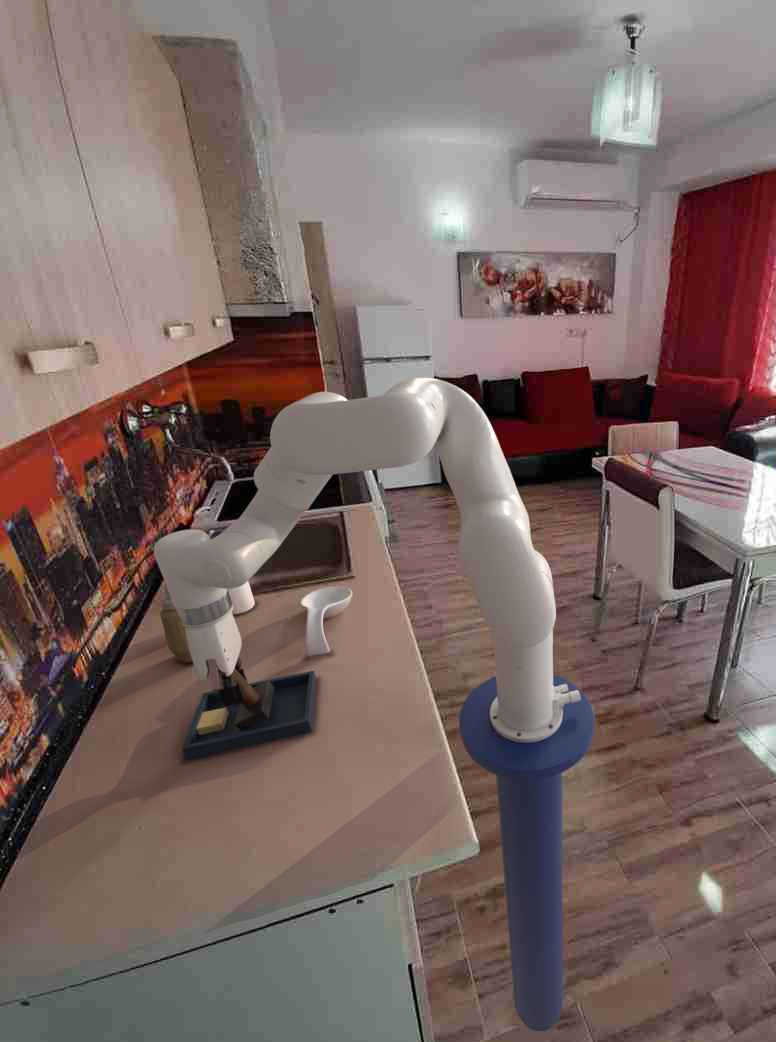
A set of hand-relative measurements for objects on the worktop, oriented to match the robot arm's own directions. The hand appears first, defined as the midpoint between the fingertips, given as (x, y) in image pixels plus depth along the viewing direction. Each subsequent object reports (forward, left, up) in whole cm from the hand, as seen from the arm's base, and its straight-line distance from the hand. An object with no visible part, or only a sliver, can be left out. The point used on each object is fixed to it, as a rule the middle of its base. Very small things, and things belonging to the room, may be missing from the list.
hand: (236, 695), depth 88 cm
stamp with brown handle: (-3, 0, -4) cm, 5 cm away
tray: (-2, 0, -6) cm, 6 cm away
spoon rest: (-13, -26, -6) cm, 30 cm away
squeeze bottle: (+14, -24, -6) cm, 28 cm away
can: (+8, -41, -6) cm, 42 cm away
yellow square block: (+5, 0, -5) cm, 7 cm away
